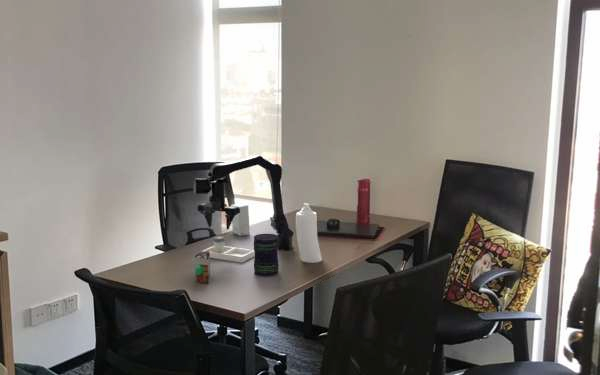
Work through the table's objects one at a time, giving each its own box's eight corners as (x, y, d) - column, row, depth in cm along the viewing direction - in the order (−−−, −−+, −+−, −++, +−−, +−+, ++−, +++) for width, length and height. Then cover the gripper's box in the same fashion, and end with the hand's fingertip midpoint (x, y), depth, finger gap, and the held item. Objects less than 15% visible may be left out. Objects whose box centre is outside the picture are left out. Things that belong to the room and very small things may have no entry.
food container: (194, 275, 243) (193, 250, 241) (210, 274, 243) (209, 250, 241) (191, 285, 230) (191, 259, 229) (208, 285, 231) (207, 259, 229)
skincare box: (249, 234, 305) (249, 205, 303) (239, 236, 302) (238, 206, 300) (241, 231, 312) (241, 202, 310) (231, 232, 309) (230, 203, 306)
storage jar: (262, 267, 252) (262, 232, 250) (283, 271, 248) (283, 235, 245) (248, 274, 244) (248, 237, 241) (269, 278, 239) (269, 241, 236)
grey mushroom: (227, 252, 272) (226, 237, 270) (220, 255, 267) (220, 239, 266) (217, 251, 274) (217, 236, 273) (211, 254, 269) (210, 238, 268)
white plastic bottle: (317, 265, 256) (317, 206, 251) (292, 263, 259) (293, 205, 254) (324, 257, 267) (325, 201, 262) (300, 255, 270) (301, 199, 265)
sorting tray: (255, 255, 269) (255, 250, 268) (242, 262, 259) (242, 256, 259) (216, 250, 278) (216, 244, 277) (202, 256, 268) (201, 250, 268)
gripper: (189, 194, 263) (190, 229, 266) (226, 198, 255) (226, 234, 257) (204, 190, 273) (205, 224, 275) (240, 193, 265) (240, 229, 267)
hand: (218, 228), depth 269 cm, fingers open, 9 cm apart
